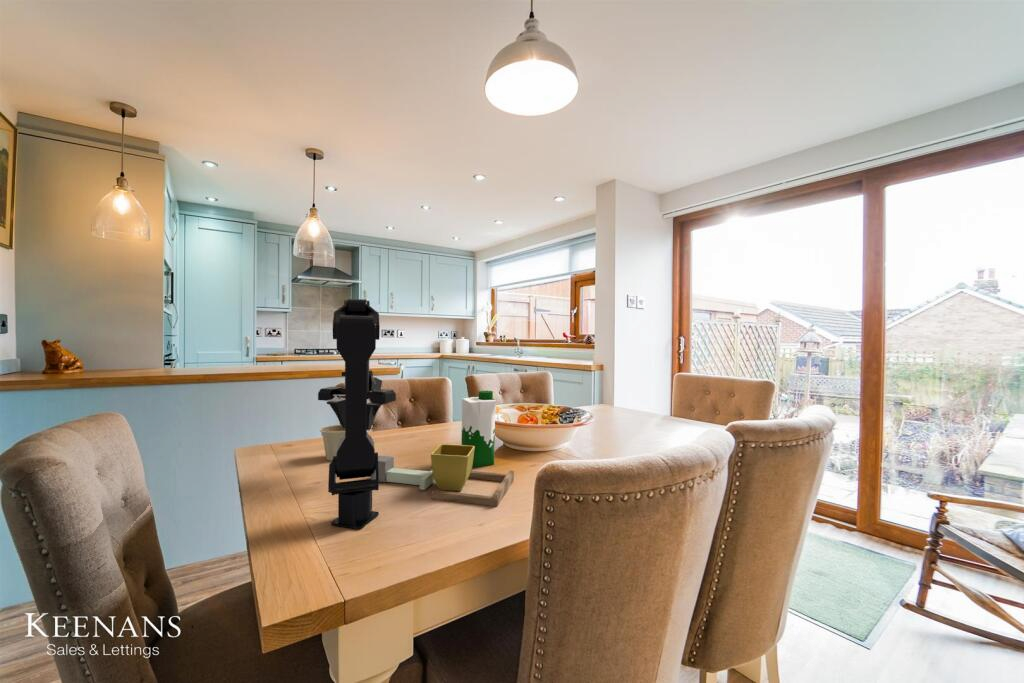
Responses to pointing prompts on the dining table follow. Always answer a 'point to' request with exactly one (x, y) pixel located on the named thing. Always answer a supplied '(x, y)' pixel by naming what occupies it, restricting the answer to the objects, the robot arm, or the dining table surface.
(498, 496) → the bay
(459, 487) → the flower pot
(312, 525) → the dining table surface
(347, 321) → the robot arm
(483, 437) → the milk carton
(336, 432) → the flower pot
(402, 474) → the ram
